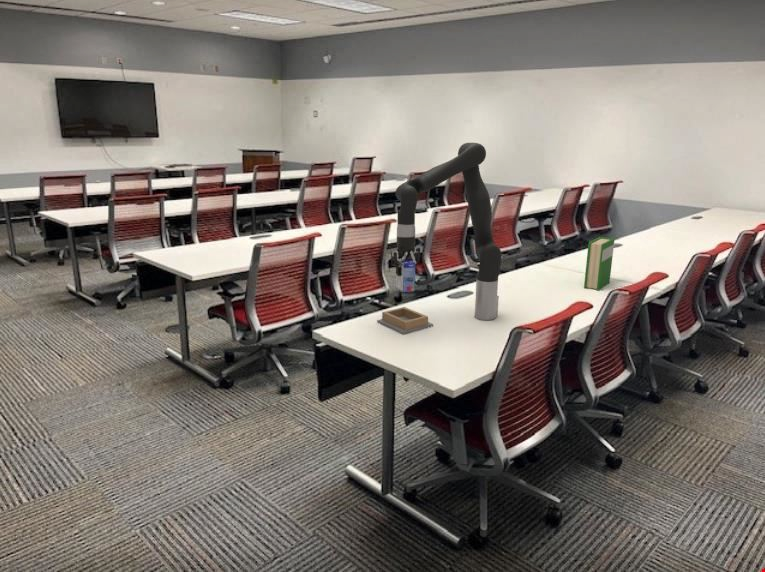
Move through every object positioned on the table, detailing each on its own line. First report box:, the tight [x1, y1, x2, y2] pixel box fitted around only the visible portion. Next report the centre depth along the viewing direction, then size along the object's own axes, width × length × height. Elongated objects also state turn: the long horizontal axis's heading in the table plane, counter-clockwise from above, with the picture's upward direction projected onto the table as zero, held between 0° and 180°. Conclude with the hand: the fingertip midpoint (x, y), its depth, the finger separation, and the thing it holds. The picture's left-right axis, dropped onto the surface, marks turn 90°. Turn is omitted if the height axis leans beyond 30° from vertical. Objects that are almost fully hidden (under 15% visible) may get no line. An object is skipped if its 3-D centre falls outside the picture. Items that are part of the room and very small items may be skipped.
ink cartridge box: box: [395, 255, 416, 293], centre depth 236 cm, size 10×6×14 cm, turn 16°
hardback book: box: [583, 236, 616, 292], centre depth 294 cm, size 18×7×24 cm, turn 142°
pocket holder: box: [376, 306, 434, 335], centre depth 242 cm, size 16×18×4 cm
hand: (405, 274), depth 236 cm, fingers closed on ink cartridge box, 6 cm apart
